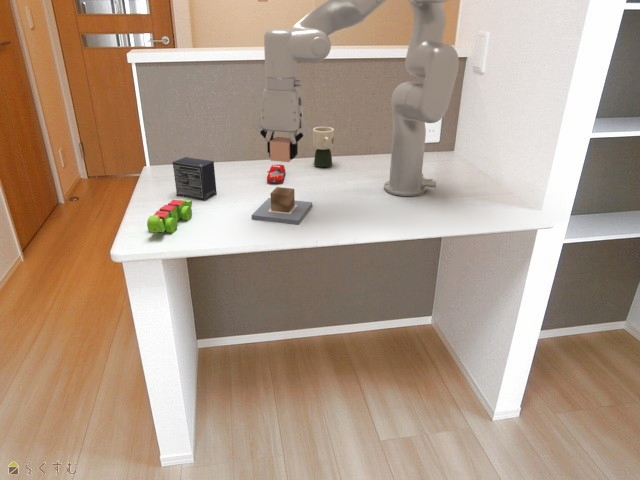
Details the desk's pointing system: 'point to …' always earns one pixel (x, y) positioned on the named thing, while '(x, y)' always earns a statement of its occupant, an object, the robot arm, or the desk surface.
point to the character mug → (323, 145)
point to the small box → (195, 178)
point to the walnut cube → (282, 199)
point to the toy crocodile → (170, 216)
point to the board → (282, 213)
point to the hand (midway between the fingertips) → (282, 156)
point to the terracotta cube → (280, 149)
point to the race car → (276, 174)
